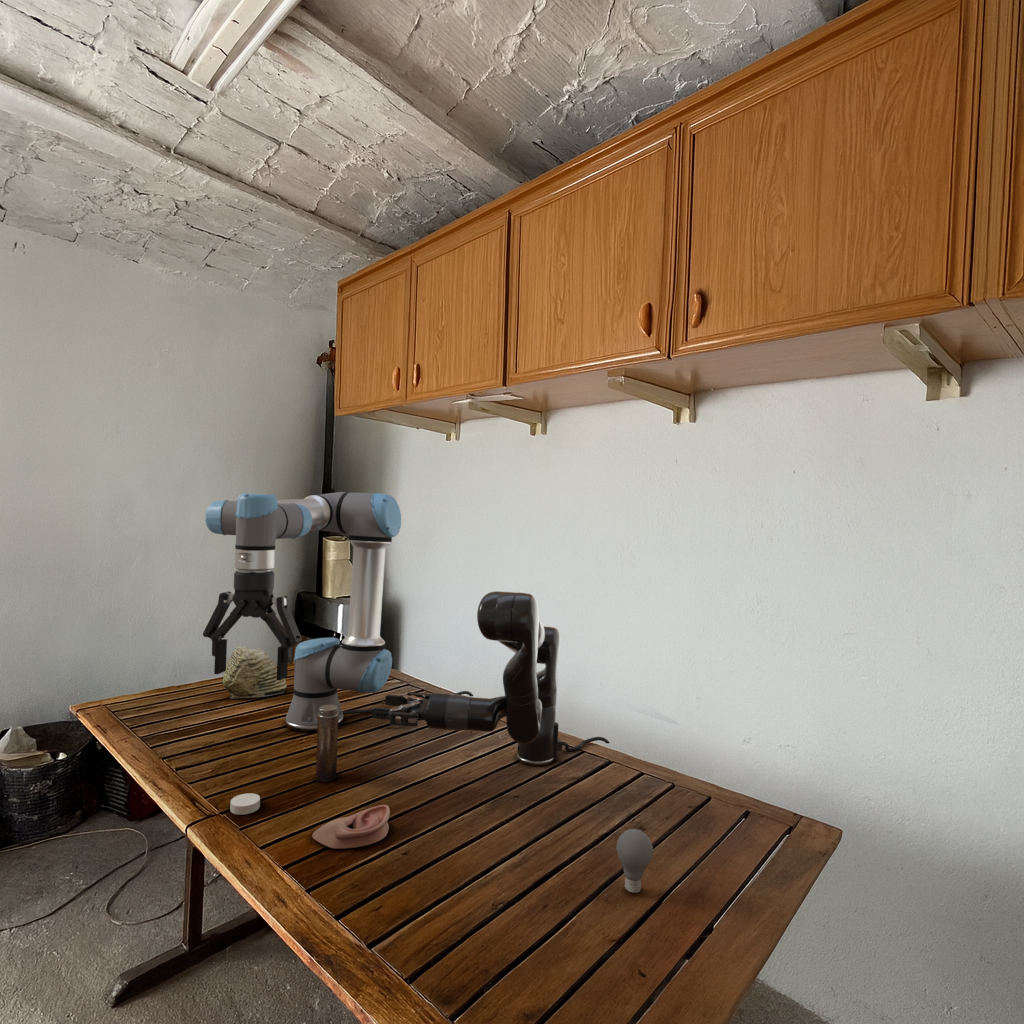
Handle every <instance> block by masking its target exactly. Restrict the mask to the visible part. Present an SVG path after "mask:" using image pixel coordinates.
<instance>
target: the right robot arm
mask: <svg viewBox="0 0 1024 1024" xmlns="http://www.w3.org/2000/svg"><path fill="white" fill-rule="evenodd" d="M538 604H539V603H538V601H537V598H536V596H535V595H533V594H531V593H527V592H517V591H516V592H514V591H498V590H496V591H495V590H494V591H490V592H487V593H486V594H485V595H484V596H483V597H482V598H481V599H480V601H479V604H478V607H477V612H476V621H477V626H478V629H479V632H480V633H481V635H482V636H483V637H484V638H485V639H486V640H488V641H494V642H498V643H500V644H501V645H503V646H504V647H506V648H507V649H509V650H510V651H511V652H513V653H514V654H513V656H512V657H511V658H510V659H509V661H508V662H507V663H506V665H505V667H504V669H503V672H502V685H503V691H504V695H503V696H502V695H501V696H497V697H489V698H488V697H477V696H469V695H465V694H462V695H455V693H442V692H441V693H440V692H432V693H422V692H411V691H409V692H407V693H406V694H402V695H398V694H386V695H385V697H384V704H385V705H386V706H392V707H393V708H394V709H391V708H386V707H374V708H372V709H373V712H372V719H375V720H385V721H386V720H387V721H389V725H390V726H400V727H418V722H419V721H425V722H426V726H427V728H428V729H434V730H445V731H459V732H461V731H462V732H463V731H471V732H472V731H473V732H483V733H484V732H485V733H491V732H494V731H495V730H496V728H497V726H498V724H499V723H500V720H501V719H504V718H505V720H506V731H507V734H508V736H509V737H510V738H511V740H512V741H513V742H516V744H517V745H516V751H517V752H516V759H517V760H518V761H519V762H520V763H523V764H525V765H529V766H536V767H537V766H539V767H540V766H547V765H550V764H552V763H553V762H557V761H558V753H559V752H563V746H564V748H565V751H567V752H575V751H579V750H581V749H582V748H583V746H584V745H586V744H589V743H592V742H596V741H601V742H604V743H605V744H608V745H609V744H610V742H611V741H610V740H608V738H605V737H603V736H594V737H590V738H587V739H584V740H582V741H580V742H579V744H578V745H576V746H575V745H574V746H572V747H570V746H569V743H568V742H566V741H563V740H561V739H560V738H559V722H558V721H557V701H558V700H557V699H558V698H557V696H558V677H559V675H558V674H559V662H560V653H561V632H560V629H559V628H557V627H555V626H545V625H544V624H543V622H542V621H541V620H540V612H539V605H538ZM537 664H540V665H544V668H542V669H541V670H539V671H537ZM394 706H395V707H394ZM396 707H399V708H396Z"/></svg>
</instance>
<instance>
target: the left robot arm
mask: <svg viewBox="0 0 1024 1024" xmlns="http://www.w3.org/2000/svg"><path fill="white" fill-rule="evenodd" d="M205 525H206V528H208V530H209V531H210V532H211V533H213V534H217V535H223V536H235V545H234V547H235V548H234V569H235V570H236V571H235V572H234V573H233V590H234V593H232V592H231V591H230V590H229V591H224V592H221V593H219V595H218V601H217V605H216V607H215V609H214V611H213V612H212V614H211V616H210V618H209V620H208V623H207V624H206V626H205V629H204V630H203V632H202V636H203V637H204V638H208V639H210V640H211V656H212V657H214V668H213V669H214V671H213V673H214V674H213V675H220V674H222V673H224V672H225V671H226V667H227V666H226V665H227V651H228V639H225V638H226V637H225V636H226V635H227V634H228V633H229V631H230V630H231V629H232V628H233V627H234V626H235V624H236V623H237V622H238V621H239V620H240V619H241V618H242V617H244V618H249V617H251V618H253V619H258V618H260V619H261V620H262V621H263V622H264V623H265V624H266V625H267V627H268V628H269V630H270V631H271V632H272V634H273V635H274V637H275V638H276V639H277V641H278V642H279V644H280V646H278V647H277V661H276V668H277V680H282V679H284V678H285V679H286V678H288V669H289V667H288V665H289V663H290V662H292V659H293V646H295V645H296V647H295V652H294V659H293V660H294V672H293V695H292V696H293V697H292V699H291V702H290V704H289V708H288V711H287V713H286V715H285V726H286V728H287V729H289V730H291V731H294V732H295V731H296V732H301V733H317V726H318V713H319V708H320V707H321V706H323V705H336V706H337V707H338V711H337V712H338V713H339V720H338V727H339V726H340V725H342V723H343V722H344V715H355V714H369V713H373V709H374V708H366V709H354V710H353V709H351V710H343V709H342V706H341V702H340V699H339V695H338V690H342V691H351V692H358V693H361V694H363V693H369V694H374V693H378V692H379V691H381V690H382V689H383V688H384V686H385V685H386V683H387V682H388V680H389V677H390V674H391V671H392V666H393V656H392V652H391V651H390V650H388V649H386V641H385V640H384V638H382V637H381V626H382V625H381V624H382V612H383V611H382V610H383V595H384V578H385V565H386V564H385V563H386V551H387V550H386V549H387V548H388V547H389V546H390V545H392V542H393V540H392V539H393V538H395V537H397V536H398V534H399V533H400V529H401V528H402V513H401V508H400V506H399V504H398V501H397V500H396V499H395V497H393V496H392V495H390V494H387V493H380V492H352V491H351V492H350V491H337V492H329V493H321V494H312V495H308V496H306V497H304V498H297V499H296V498H295V499H294V498H293V499H278V497H277V496H276V495H275V494H272V493H271V494H269V493H245V492H244V493H240V494H239V495H238V497H237V500H227V499H224V500H215V501H213V502H211V503H210V504H209V505H208V506H207V508H206V510H205ZM310 531H313V532H315V531H321V532H330V533H337V534H344V535H348V542H349V543H350V545H351V546H352V547H353V552H352V554H353V555H352V567H351V584H350V595H349V596H350V597H349V612H348V627H347V629H348V630H347V635H346V636H345V637H344V638H343V639H342V640H341V641H340V639H339V638H338V637H318V638H313V639H307V640H304V641H303V638H302V636H301V633H300V631H299V628H298V626H297V623H296V621H295V619H294V616H293V614H292V611H291V609H290V606H289V605H290V604H289V597H288V595H281V596H274V589H275V572H274V571H273V570H274V569H275V568H276V541H277V540H283V539H293V540H294V539H297V538H301V537H304V536H306V535H307V534H308V533H309V532H310ZM232 603H233V604H234V608H233V609H232V610H231V612H230V613H229V615H228V616H227V618H225V615H226V614H227V611H228V610H229V607H230V606H231V604H232ZM273 605H274V607H275V608H276V610H277V613H278V616H279V618H278V616H277V613H276V611H275V610H274V609H273ZM224 618H225V620H224ZM223 620H224V621H223ZM222 621H223V622H222ZM454 694H455V695H466V696H469V697H474V694H473V693H472V692H471V691H468V690H463V691H459V692H456V693H454ZM394 708H399V706H395V707H392V708H390V709H394Z"/></svg>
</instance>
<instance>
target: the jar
mask: <svg viewBox="0 0 1024 1024" xmlns="http://www.w3.org/2000/svg"><path fill="white" fill-rule="evenodd" d="M337 711H338V707H337V706H336V705H323V706H321V707H320V708H319V713H318V726H317V732H316V752H315V754H316V756H315V780H316V782H318V783H330V782H333V781H335V780H336V779H337V772H338V771H337V768H338V767H337V766H338V745H339V741H338V740H339V726H338V720H339V713H338V712H337Z"/></svg>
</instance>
